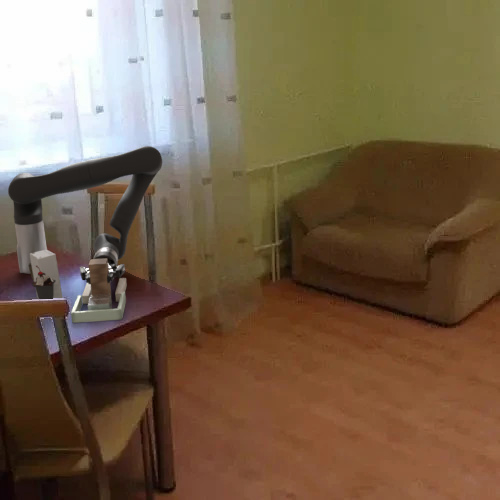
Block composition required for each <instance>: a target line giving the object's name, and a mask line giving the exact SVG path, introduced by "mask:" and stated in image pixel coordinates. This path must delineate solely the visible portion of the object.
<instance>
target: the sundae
mask: <svg viewBox="0 0 500 500" xmlns="http://www.w3.org/2000/svg"><path fill="white" fill-rule="evenodd" d="M36 267H37V268H39V267H38V266H36ZM39 270H40V269H39ZM55 282H56V280H53V279H51V278H50V277H49V276H48V275H47V274H46V273H42V272H41V271H40V272H39V273H38V277H37V278H36V280H35V282H34V281H33V282H31V285H32V287H34V288H35V292H36V291H37V294H36V296H37V295H38V298H39V299H53V295H54V283H55ZM38 298H37V299H38ZM39 299H38V300H39Z"/></svg>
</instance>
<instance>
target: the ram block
mask: <svg viewBox="0 0 500 500" xmlns="http://www.w3.org/2000/svg"><path fill="white" fill-rule="evenodd" d="M87 267H88V268H89V274H90V281H91V291H92V295H97V294H111V295H112V287H111V282H110V283H107V275H108V272H109V268H108V259H107V258H103V259H90V260H89V263H88V266H87Z"/></svg>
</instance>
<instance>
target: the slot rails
mask: <svg viewBox="0 0 500 500" xmlns="http://www.w3.org/2000/svg"><path fill="white" fill-rule="evenodd" d="M127 285H128V284H127V278H126V277H120V278H118V283H117V286H116V290H115V294H114V295H115V302H118V303H119V301H120V297H121V293H122V292H125V293H126V289H127ZM90 295H92V291H91V284H88V283H87V282H86V284H85V287H84V290H83V292H82V294H81V296H82V305H85V304H86V305H88V302H89V297H90Z"/></svg>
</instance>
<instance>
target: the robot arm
mask: <svg viewBox="0 0 500 500" xmlns="http://www.w3.org/2000/svg"><path fill="white" fill-rule="evenodd" d="M162 166H163V157H162V155H161V152H160V150H158V149H157V148H156V147H154V146H149V145H145V146H141V147H139V148H136V149H133V150H130V151H127V152H124V153H121V154H117V155H112V156H111V155H110V156H105V157H103V156H102V157H98V158H92V159H87V160H83V161H79V162H74V163H71V164H68V165H66V166H64V167H61V168H59V169H57V170H54V171H52V172H48V173H44V174H41V175H33V174H32V173H28V172H22V173H18V174H17V175H16V176H14V177H13V178H12V180H11V182H10V183H9V186H8V190H7V191H8V192H7V193H8V196H9V198H10V199H11V200H12V201H13V202H12V203H13V220H14V227H15V234H16V240H17V245H16V253H17V261H18V267H19V268H18V269H19V273H20V274H28V275H31V274H30V270H29V266H28V265H29V263H31V259H30V253H34V252H38V251H42V250H48V248H47V242H46V233H45V225H44V219H43V217H44V216H43V203H42V199H45V198H49V197H51V196H55V195H60V194H67V193H73V192H78V191H85V190H88V189H92V188H96V187H97V188H98V187H100V186H103V185H105V184H108V183H111V182H113V181H115V180H117V179H120V178H122V177H127V176H131V179H130V182H129V184H128V186H127V188H126V189H125V191H124V192H123V194H122V196H121V197H120V199H119V201H118V203H117V205H116V207H115V209H114V211H113V214H112V216H111V219H110V221H109V226H110V227H111V228H112V229H114V230H115V231H116V232H118V234H119V238H118V237H116V236H113V235H111V234H110V233H109V234H108V233H106V232H105V233H104V232H103V233H100V234H98V235H97V236H96V238H95V240H94V243H93V250H94V253H95V254H94V256H93V259H103V258H107V259H108V268H109V272H108V275H107V283H110V284H111V282H113V280H114V279H115V278H116V279H120V278H122V276H123V275H124V274H125V272H126V268H125V264H124V263H121V264H120V265H118V261H119V260H121V259H122V258H123V257H124V256H125V254H126V249H127V242H128V238H129V237H128V236H129V233H130V230H131V228H132V225H133V223H134V221H135V218H136V216H137V213H138V211H139V208H140V206H141V203H142V201H143V199H144V196H145V194H146V192H147V190H148V188H149V186H150V185H151V183H152V182H153V180H154V179H155V177H156V176H157V175H158V172H159V171H161V169H162ZM79 273H80V278H81V280H82V281H85V282H86V284H87V283H88V284H91V281H90V274H89V267H88V268H87V267H84V266H79Z"/></svg>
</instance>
